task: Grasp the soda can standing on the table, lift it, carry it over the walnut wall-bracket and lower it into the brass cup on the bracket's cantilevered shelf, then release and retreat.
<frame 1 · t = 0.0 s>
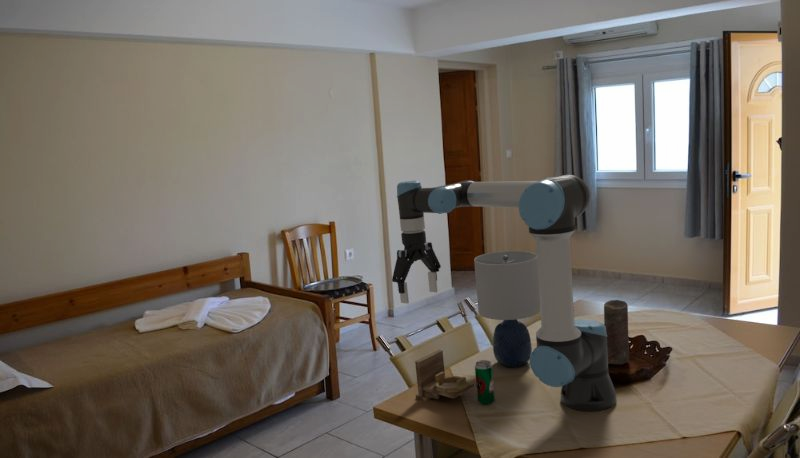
hand: (419, 297, 204), 28 cm above the table, fingers open, 13 cm apart
bracket: (452, 398, 194), on the table
soda can: (486, 402, 189), on the table
lamp: (513, 363, 217), on the table
candle: (617, 363, 208), on the table
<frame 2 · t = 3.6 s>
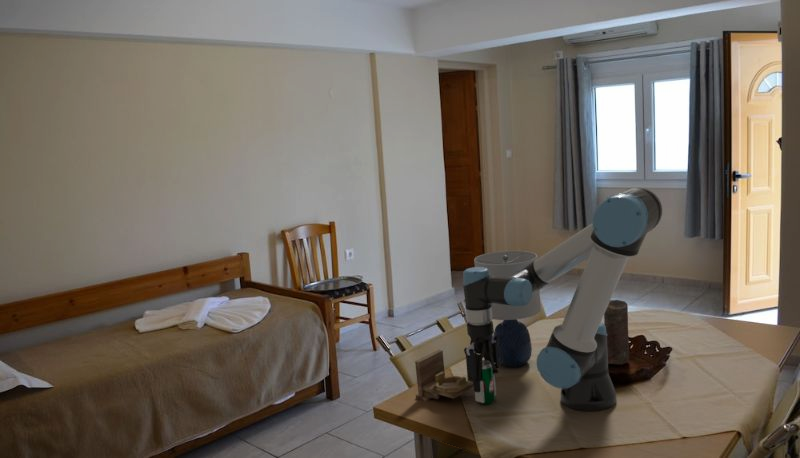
hand: (486, 397, 189), 1 cm above the table, fingers closed on soda can, 5 cm apart
soda can: (486, 402, 189), on the table, touching gripper
everything else where it was.
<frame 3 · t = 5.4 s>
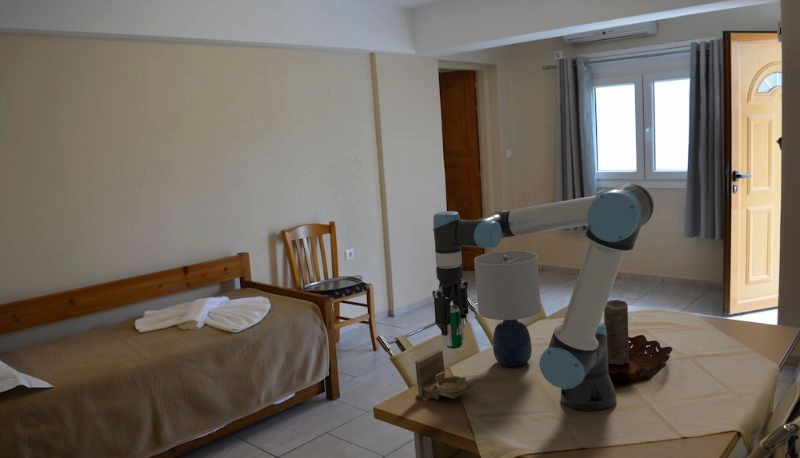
hand: (453, 342, 190), 18 cm above the table, fingers closed on soda can, 5 cm apart
soda can: (454, 346, 190), point 16 cm above the table, touching gripper
everything else where it was.
when the fingers open (7 cm above the table, at t = 7.2 s): soda can drops 2 cm, resting on bracket.
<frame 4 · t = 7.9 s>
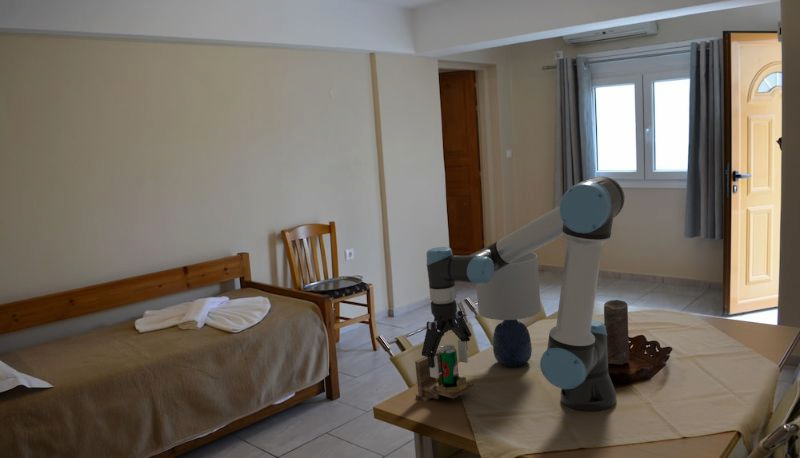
hand: (449, 369, 192), 9 cm above the table, fingers open, 13 cm apart
soda can: (451, 386, 193), point 4 cm above the table, touching bracket
everything else where it was.
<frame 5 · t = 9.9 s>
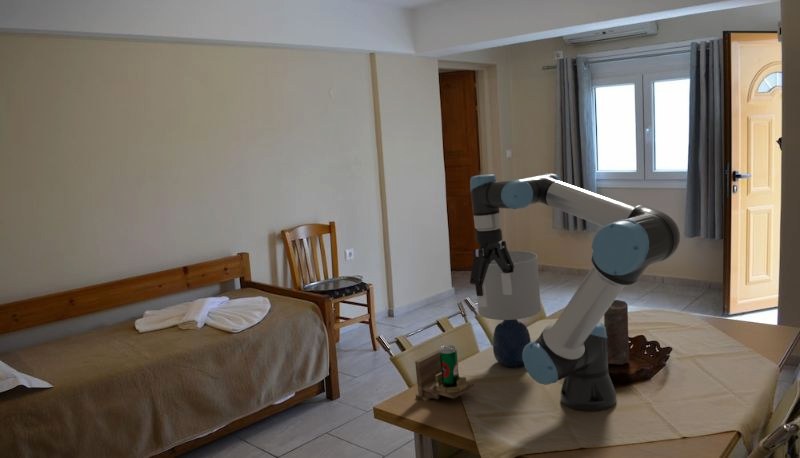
hand: (495, 300, 189), 29 cm above the table, fingers open, 13 cm apart
nothing on the table moved.
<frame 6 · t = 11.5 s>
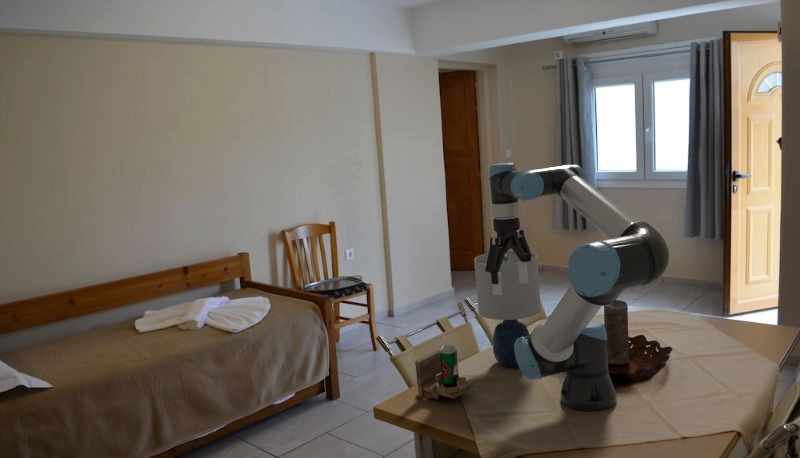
hand: (511, 288, 189), 32 cm above the table, fingers open, 13 cm apart
nothing on the table moved.
at the end: soda can 0.0 cm from the bracket (horizontally); soda can touching bracket; soda can tilted 0° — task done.
